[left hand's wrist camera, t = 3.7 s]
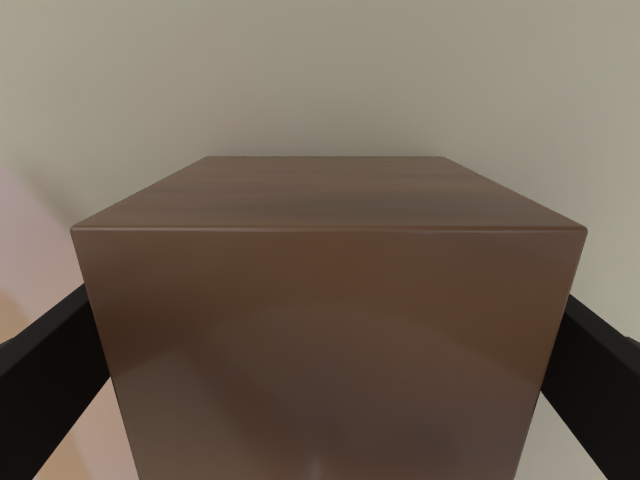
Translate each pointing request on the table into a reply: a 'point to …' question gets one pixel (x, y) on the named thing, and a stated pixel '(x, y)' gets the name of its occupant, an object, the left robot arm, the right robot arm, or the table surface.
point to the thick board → (327, 318)
